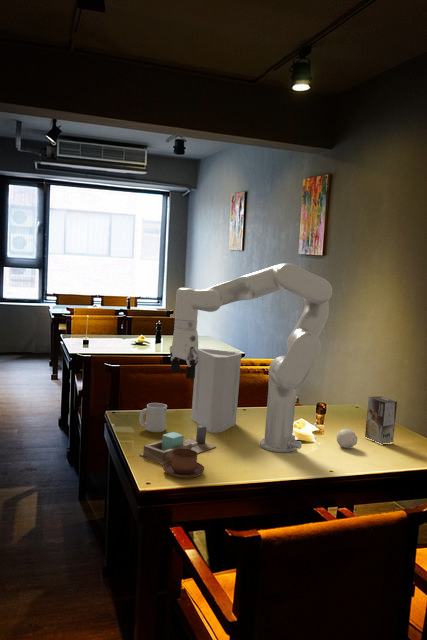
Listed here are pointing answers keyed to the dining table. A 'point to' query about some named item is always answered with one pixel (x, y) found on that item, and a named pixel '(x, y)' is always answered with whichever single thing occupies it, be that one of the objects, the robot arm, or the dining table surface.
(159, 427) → the cup
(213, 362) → the tall white carton
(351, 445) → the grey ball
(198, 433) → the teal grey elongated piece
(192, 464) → the cup and saucer
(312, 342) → the robot arm
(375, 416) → the coffee box
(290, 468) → the dining table surface
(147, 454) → the lane
